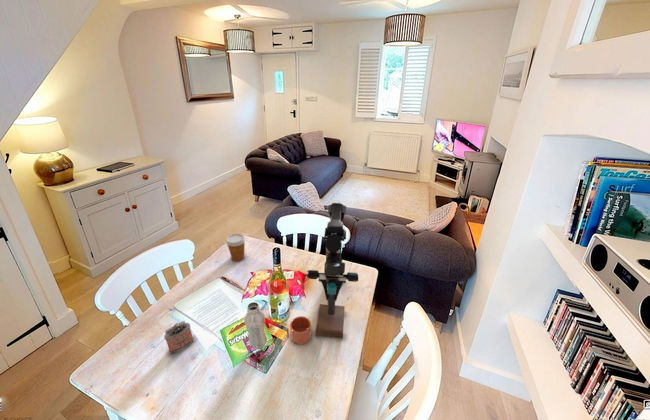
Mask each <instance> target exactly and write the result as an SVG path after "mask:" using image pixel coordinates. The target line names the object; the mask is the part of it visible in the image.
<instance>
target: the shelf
mask: <svg viewBox="0 0 650 420" xmlns="http://www.w3.org/2000/svg"><path fill="white" fill-rule="evenodd" d="M345 309H346V308H345V305H336V304H335V313H334V314H333V315H329V314H328V313H327V304H325V303H319V307H318V311H317V319H316V325H315V337H318V338H319V337H320V338H329V339H330V338H331V339H339V340H343V339H344V326H345Z"/></svg>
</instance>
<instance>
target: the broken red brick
mask: <svg viewBox="0 0 650 420" xmlns="http://www.w3.org/2000/svg"><path fill="white" fill-rule="evenodd" d="M164 332H165V334H164V336H163V338H164V340H165V342H166V344H167V347H168V353H169V354H170V355H175V354H177V353H179V352H181V351H183V350H184V349H186V348H188V347H189V346H190V345H192V344H193V343H194V342H195V338H194V335H193V333H192V330H191V324H190V322H186V321H185V320H183V321H181V322H176V323H174V324H173V326H171V327H169V328H167V329H166V330H165V331H164Z"/></svg>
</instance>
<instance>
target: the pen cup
mask: <svg viewBox="0 0 650 420" xmlns="http://www.w3.org/2000/svg"><path fill="white" fill-rule="evenodd" d="M289 330H290V339H291V341H292V343H294V344H298V345H303V344H306V343H308V342H309V340H310V339H311V336H312V322H311V320H310V318H308V317H306V316H301V315H300V316H296V317H294V318H293V319H292V320H291V321H290V324H289Z"/></svg>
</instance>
